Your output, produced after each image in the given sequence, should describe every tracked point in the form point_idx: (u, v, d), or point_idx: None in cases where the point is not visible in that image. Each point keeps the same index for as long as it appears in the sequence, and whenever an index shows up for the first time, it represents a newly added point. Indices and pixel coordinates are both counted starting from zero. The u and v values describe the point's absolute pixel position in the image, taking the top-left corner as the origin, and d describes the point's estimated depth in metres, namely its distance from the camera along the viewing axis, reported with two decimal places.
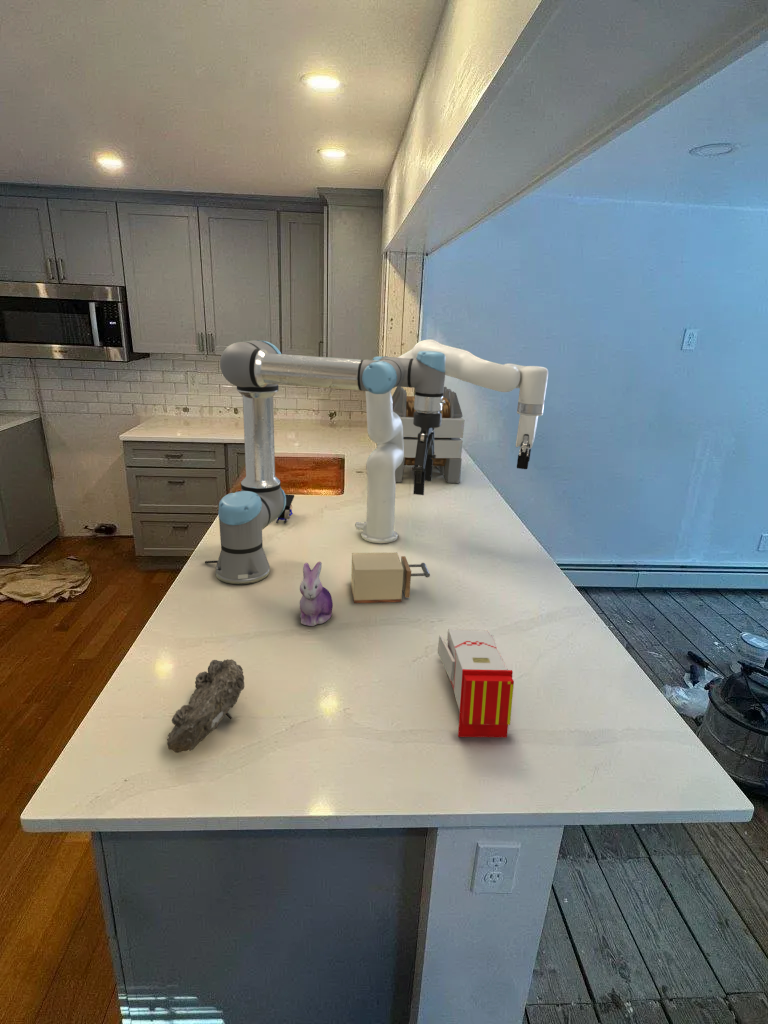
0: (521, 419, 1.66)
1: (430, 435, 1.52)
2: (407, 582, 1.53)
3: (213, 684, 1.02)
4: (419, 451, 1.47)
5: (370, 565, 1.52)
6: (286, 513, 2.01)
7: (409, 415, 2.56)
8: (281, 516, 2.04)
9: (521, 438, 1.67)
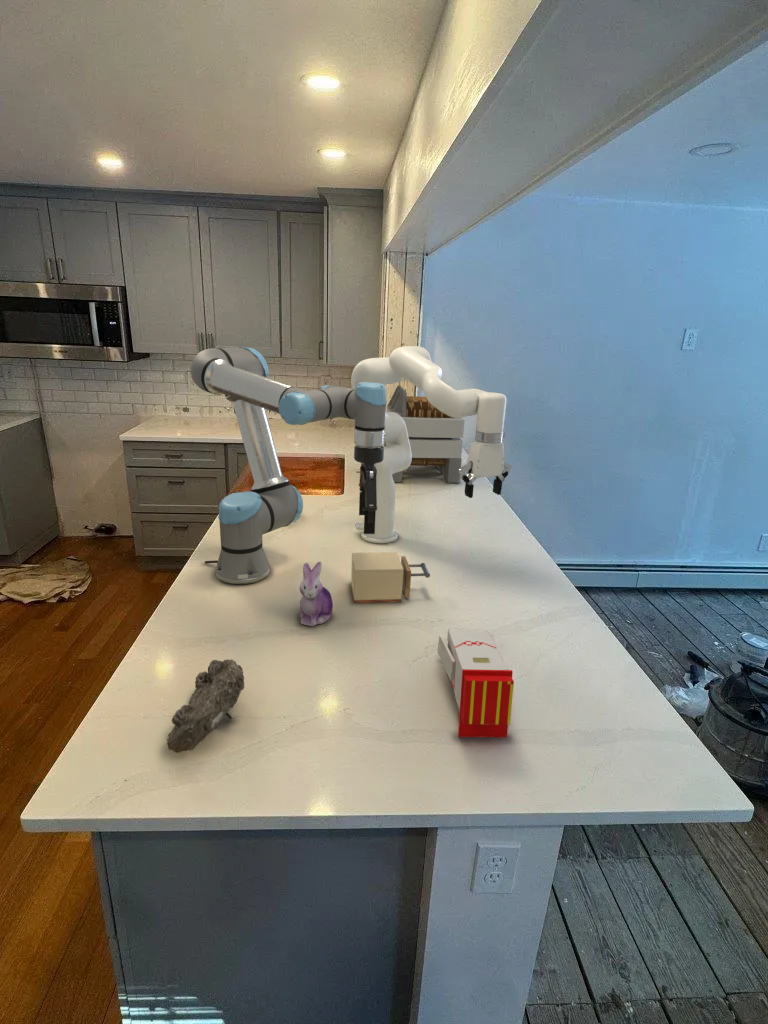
0: (471, 445, 1.61)
1: (374, 470, 1.44)
2: (407, 582, 1.53)
3: (213, 684, 1.02)
4: (370, 489, 1.39)
5: (370, 565, 1.52)
6: None
7: (409, 415, 2.56)
8: None
9: None
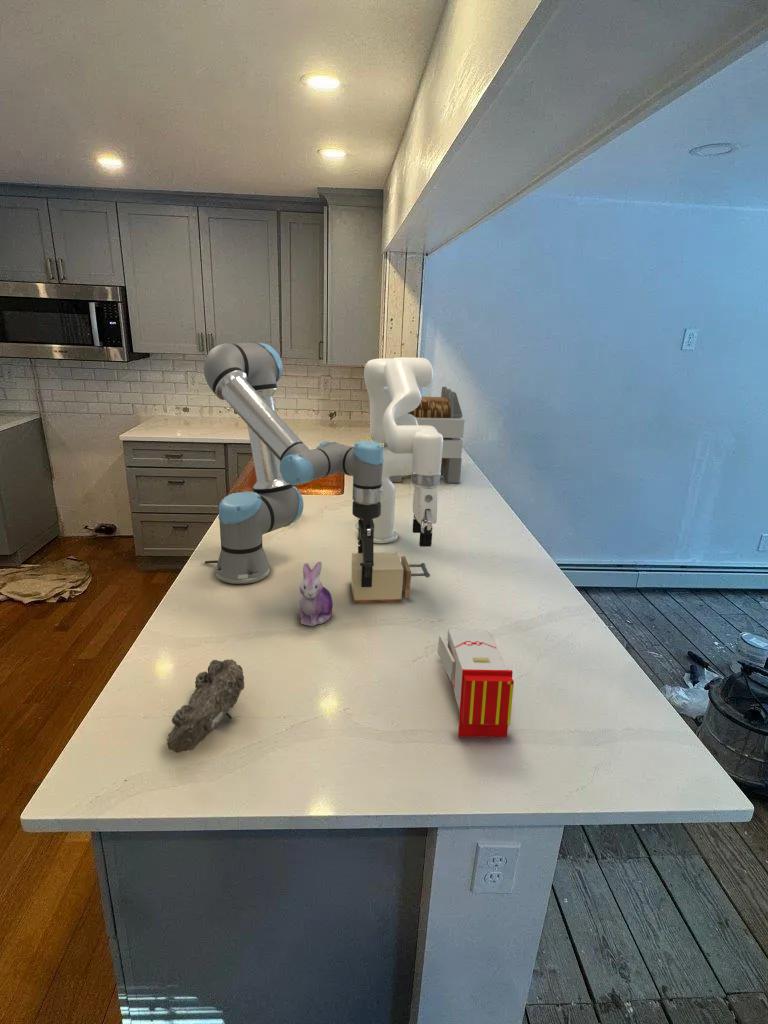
0: None
1: (372, 524, 1.49)
2: (407, 582, 1.53)
3: (213, 684, 1.02)
4: (367, 546, 1.44)
5: None
6: None
7: None
8: None
9: None
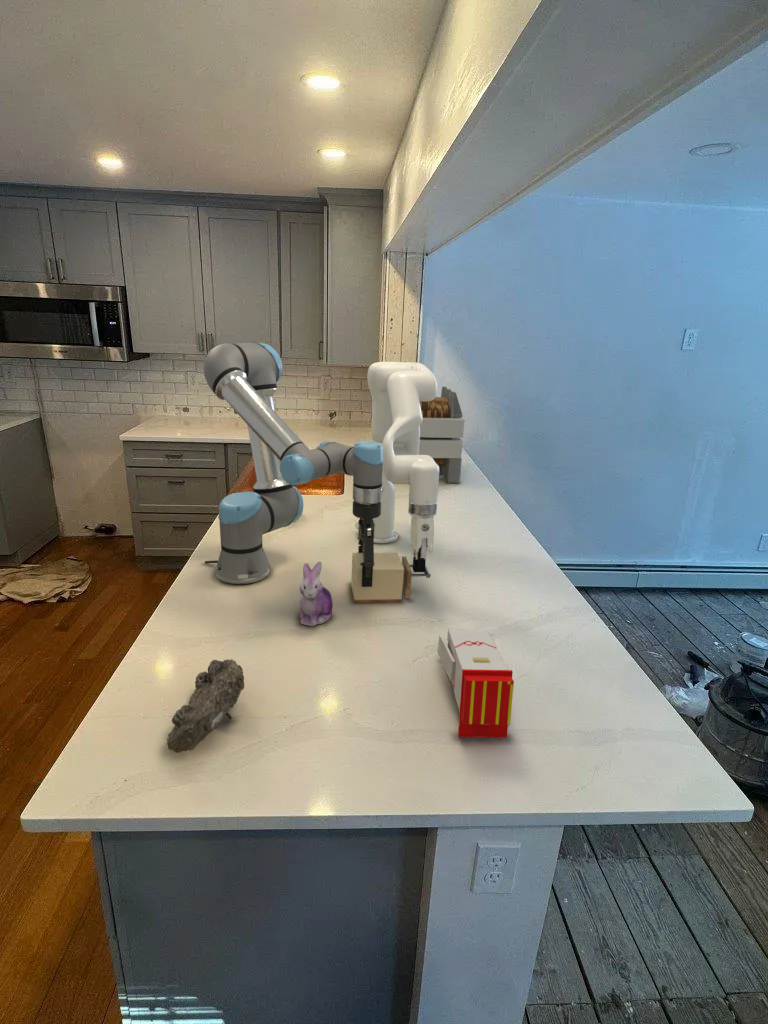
0: None
1: (372, 524, 1.49)
2: (408, 582, 1.53)
3: (213, 684, 1.02)
4: (367, 546, 1.44)
5: None
6: None
7: None
8: None
9: None
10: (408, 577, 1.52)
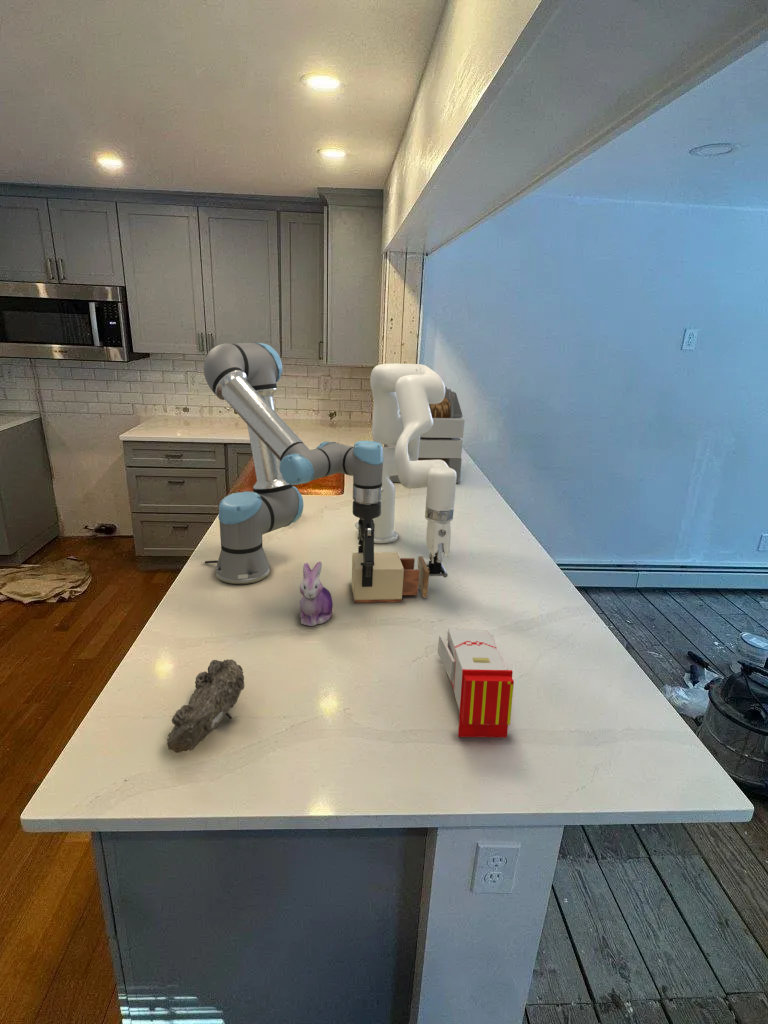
0: None
1: (372, 524, 1.49)
2: (425, 582, 1.53)
3: (213, 684, 1.02)
4: (368, 546, 1.44)
5: None
6: None
7: None
8: None
9: None
10: (426, 577, 1.53)
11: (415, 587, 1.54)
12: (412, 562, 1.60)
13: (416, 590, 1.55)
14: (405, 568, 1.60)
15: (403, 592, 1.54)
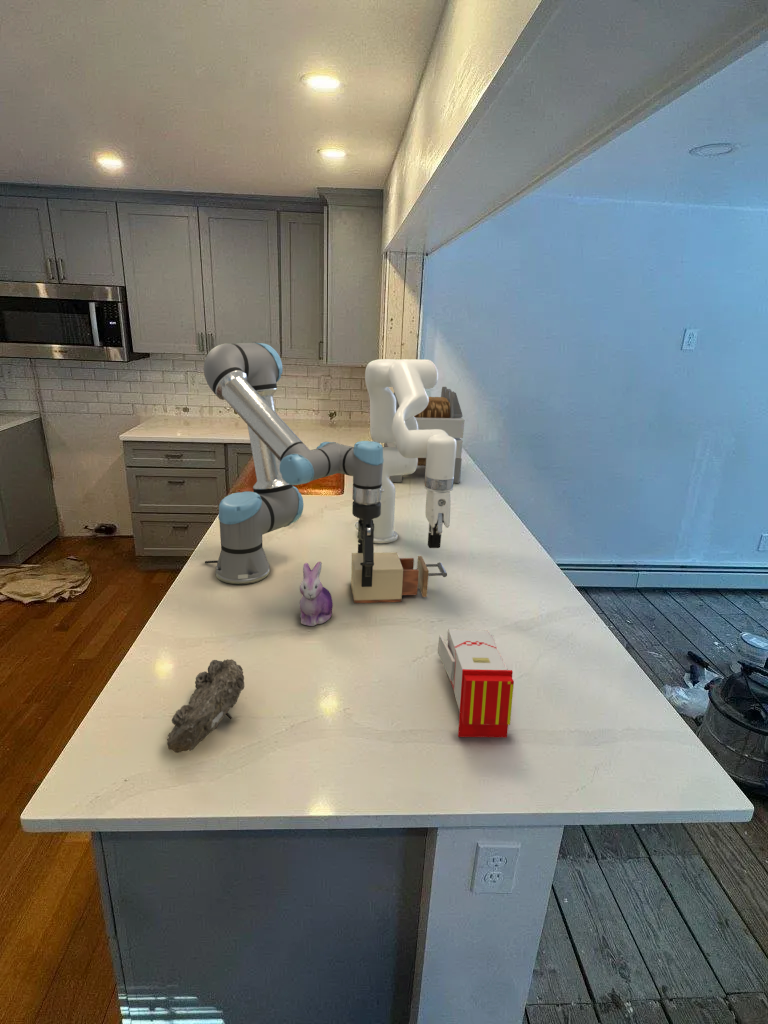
0: None
1: (372, 525, 1.49)
2: (424, 582, 1.53)
3: (213, 684, 1.02)
4: (367, 546, 1.44)
5: None
6: None
7: None
8: None
9: None
10: (425, 576, 1.53)
11: (415, 587, 1.54)
12: (411, 562, 1.60)
13: (416, 590, 1.55)
14: (404, 568, 1.60)
15: (402, 592, 1.54)
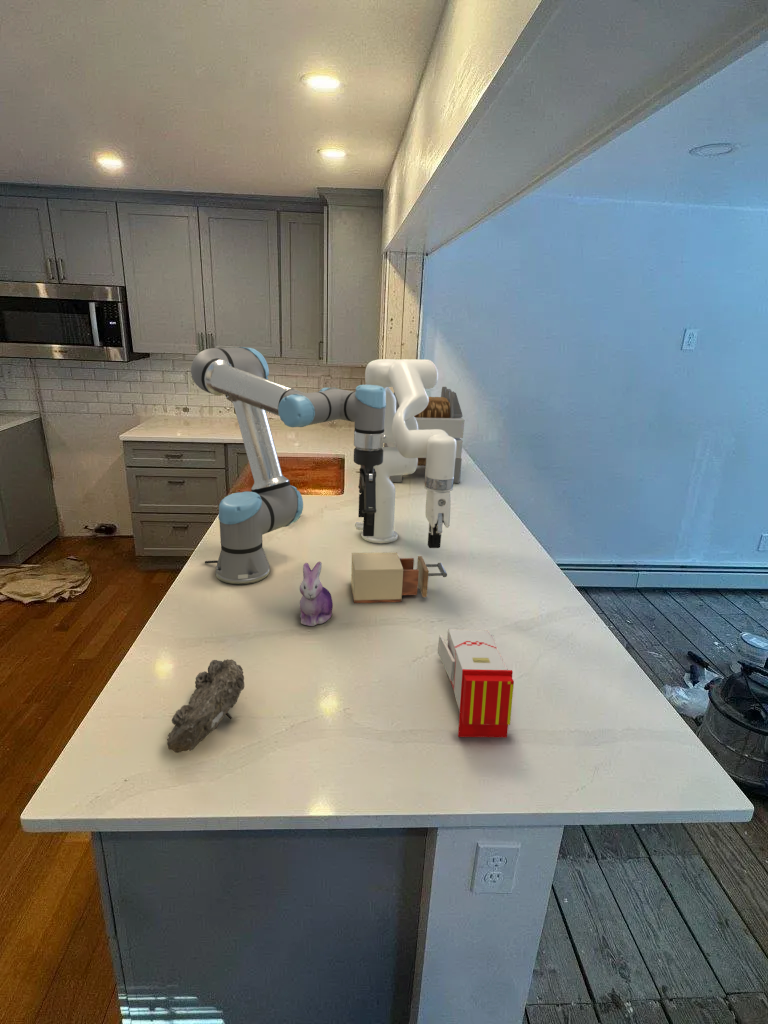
0: None
1: (374, 472, 1.44)
2: (424, 582, 1.53)
3: (213, 684, 1.02)
4: (369, 492, 1.39)
5: (370, 565, 1.52)
6: None
7: None
8: None
9: None
10: (425, 576, 1.53)
11: (415, 587, 1.54)
12: (411, 562, 1.60)
13: (416, 590, 1.55)
14: (404, 568, 1.60)
15: (402, 592, 1.54)
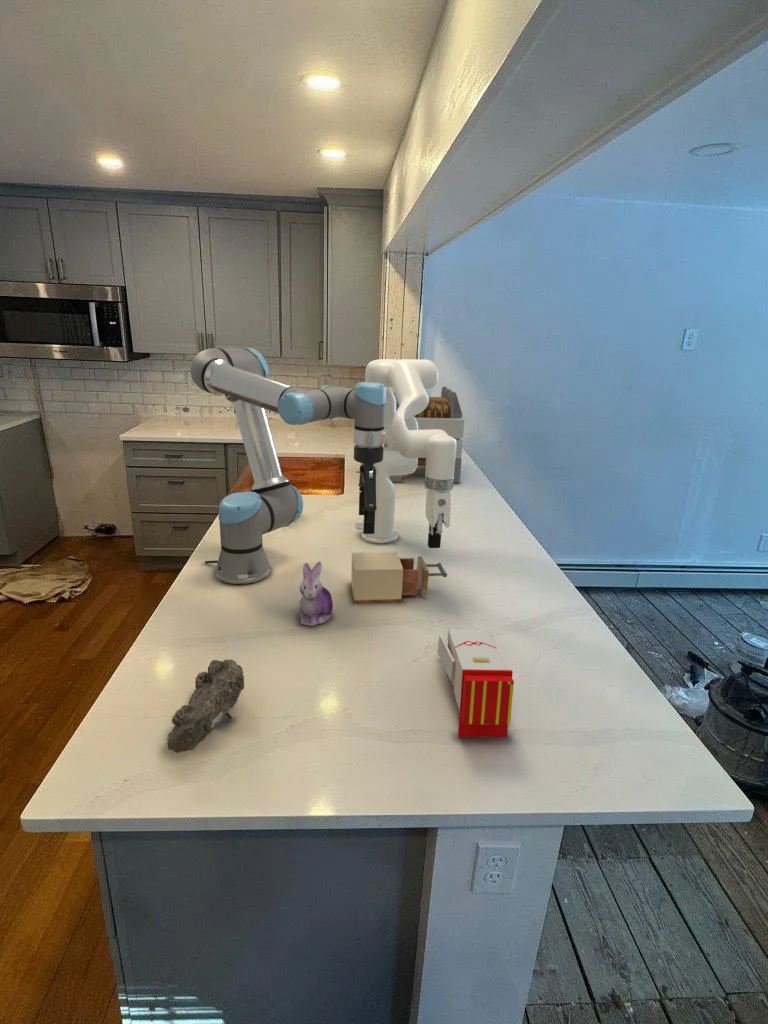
0: None
1: (374, 470, 1.44)
2: (424, 582, 1.53)
3: (213, 684, 1.02)
4: (369, 489, 1.39)
5: (370, 565, 1.52)
6: None
7: None
8: None
9: None
10: (425, 576, 1.53)
11: (415, 587, 1.54)
12: (411, 562, 1.60)
13: (416, 590, 1.55)
14: (405, 568, 1.60)
15: (402, 592, 1.54)
